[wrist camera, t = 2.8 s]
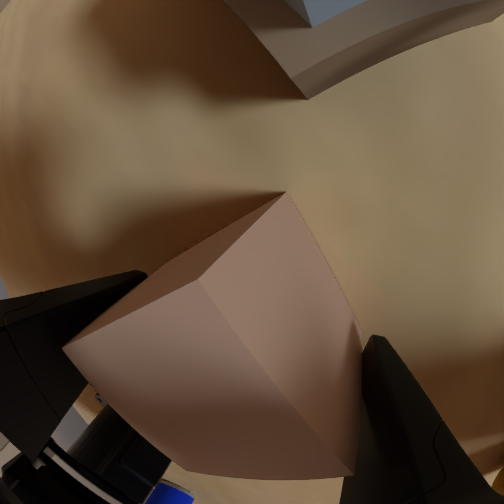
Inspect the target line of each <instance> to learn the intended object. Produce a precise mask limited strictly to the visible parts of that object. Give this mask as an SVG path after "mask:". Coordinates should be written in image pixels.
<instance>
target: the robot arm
mask: <svg viewBox="0 0 504 504" xmlns="http://www.w3.org/2000/svg"><path fill="white" fill-rule="evenodd" d="M147 277H148V276H147V274H146V273H144V272H141V271H138V270H133V271H129V272H125V273H120V274H116V275H111V276H107V277H103V278H98V279H94V280H90V281H85V282H81V283H77V284H73V285H68V286H64V287H60V288H55V289H51V290H47V291H45V292H38V293H34V294H29V295H25V296H20V297H15V298H9V299H4V300H0V451H1V450H2V449H3V448H4V447H5V446H6V445H7V444H8V443H9V442H11V443H12V444H13V445H14V446H16V448H18V449H19V450H20V451H21V453H19V454H18V455H17V456H15V457H14V458H13V459H11V460H10V461H9V462H7V463H6V464H5V465H3V466H2V468H1V470H2V478H0V504H110V503H109V502H107V501H106V500H104V499H103V498H101V497H100V496H98V495H97V494H95V493H94V492H92V491H91V490H90V489H88V488H87V487H86V486H84V485H83V484H82V483H80V482H79V481H78V480H76V479H75V478H74V477H73V476H71V475H70V474H69V473H67V472H66V471H65V470H64V469H63V468H62V467H60V466H59V465H58V464H57V463H56V462H55V461H54V460H52V459H51V458H52V457H53V456H54V454H55V455H56V456H57V457H59V458H60V459H61V460H62V461H63V462H64V463H66V464H67V465H68V466H69V467H70V468H71V469H73V470H74V471H75V472H77V473H78V474H79V475H80V476H82V477H83V478H84V479H86V480H87V481H88V482H90V483H91V484H92V485H94V486H95V487H96V488H98V489H99V490H101V491H102V492H104V493H105V494H107V495H108V496H110V497H112V498H113V499H114V500H116V501H118V502H119V503H121V504H139V503H140V504H143V503H144V502H145V500H146V498H147V497H148V495H149V494H150V492H151V491H152V489H153V487H156V486H157V484H158V483H159V481H160V479H161V478H162V476H163V474H164V473H165V471H166V470H167V468H168V466H169V465H170V463H171V461H172V460H171V459H170V458H168V457H167V456H166V455H164V454H163V453H162V452H161V451H159V450H158V449H157V448H156V447H155V446H153V445H152V444H151V443H150V442H149V441H147V440H146V439H145V438H144V437H143V436H142V435H141V434H139V433H138V432H137V431H136V430H135V429H134V428H133V427H132V426H131V425H130V424H128V423H127V422H126V421H125V420H124V419H123V418H122V417H121V416H120V415H119V414H118V413H117V412H116V411H115V410H114V409H113V408H112V407H111V406H110V405H109V404H108V403H107V402H106V401H105V400H104V398H103V397H102V396H101V395H100V394H99V393H97V394H96V395H95V398H96V399H97V400H98V401H99V402H100V403H101V404H102V405H103V406H104V408H103V409H102V410H101V412H100V413H99V414H98V415H97V416H96V418H95V419H94V420H93V421H92V422H91V423H90V425H89V426H88V427H87V428H86V429H85V431H84V432H83V433H82V434H81V435H80V437H79V438H78V439H77V440H76V441H75V442H74V444H73V445H72V446H71V447H70V448H69V449H68V451H67V452H65V451H64V450H63V449H62V448H61V447H59V446H58V445H57V444H56V442H55V440H54V439H53V438H52V437H51V435H52V433H53V432H54V430H55V429H56V427H57V426H58V425H59V423H60V422H61V420H62V418H63V417H64V416H65V414H66V413H67V412H68V410H69V409H70V407H71V406H72V405H73V403H74V402H75V401H76V399H77V398H78V396H79V395H80V394H81V392H82V391H83V390H84V388H85V387H86V386H87V384H88V383H89V382H88V381H87V379H86V378H85V377H84V376H83V375H82V374H81V372H80V371H79V370H78V369H77V367H76V366H75V365H74V364H73V362H72V361H71V360H70V359H69V357H68V356H67V355H66V353H65V352H64V351H63V349H62V347H63V346H65V345H66V344H67V343H68V342H69V341H70V340H72V339H73V338H74V337H75V336H76V335H77V334H79V333H80V332H81V331H82V330H83V329H84V328H86V327H87V326H88V325H89V324H90V323H92V322H93V321H94V320H95V319H96V318H98V317H99V316H100V315H101V314H102V313H104V312H105V311H106V310H107V309H108V308H110V307H111V306H112V305H113V304H115V303H116V302H117V301H118V300H120V299H121V298H122V297H123V296H125V295H126V294H127V293H128V292H130V291H131V290H132V289H133V288H135V287H136V286H137V285H138V284H140V283H141V282H142V281H143V280H145V279H146V278H147ZM339 504H504V496H503V495H500V494H499V493H497V492H496V491H495V490H493V489H492V488H491V486H490V485H489V484H488V483H487V481H486V480H485V479H484V477H483V476H482V474H481V473H480V472H479V470H478V469H477V468H476V466H475V465H474V464H473V462H472V461H471V460H470V458H469V457H468V456H467V454H466V453H465V452H464V450H463V449H462V447H461V446H460V445H459V443H458V442H457V440H456V439H455V437H454V436H453V434H452V433H451V431H450V430H449V428H448V427H447V425H446V423H445V422H444V421H443V420H442V417H441V416H440V414H439V413H438V411H437V410H436V408H435V407H434V405H433V404H432V402H431V401H430V399H429V398H428V396H427V395H426V393H425V392H424V391H423V389H422V388H421V386H420V385H419V383H418V382H417V380H416V379H415V378H414V376H413V375H412V373H411V372H410V371H409V369H408V368H407V366H406V365H405V364H404V362H403V361H402V359H401V358H400V357H399V355H398V354H397V352H396V351H395V350H394V348H393V347H392V346H391V344H390V343H389V342H388V340H387V339H386V338H385V337H383V336H378V335H372V336H371V337H370V338H369V340H368V342H367V344H366V346H365V349H364V351H363V353H362V397H361V415H360V429H359V440H358V450H357V458H356V466H355V474H354V475H353V476H345V477H344V480H343V486H342V492H341V497H340V503H339Z"/></svg>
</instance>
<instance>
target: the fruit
mask: <svg viewBox="0 0 504 504" xmlns="http://www.w3.org/2000/svg"><path fill="white" fill-rule="evenodd" d="M491 488H492V489H493V490H495V491H496V492H497V493H499V494H500V495H503V496H504V467H503V468H502V469H501V470H500V472H499V473H498V475H497V476H496V478H495V480H494V482H493V484H492V487H491Z"/></svg>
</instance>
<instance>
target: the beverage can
mask: <svg viewBox="0 0 504 504" xmlns="http://www.w3.org/2000/svg"><path fill="white" fill-rule="evenodd" d="M193 501H194V497H193V494H192V493H191V492H189V491H188V490H186V489H184V488H182V487H180V486H178V485H176V484H174V483H171V482H169V481H165V480H163V481H160V482H159V483H158V484H157V486H156V487H155V489H154V490H153V492H152V493H151V495H150V496H149V498H148V500H147V501H146V503H145V504H192V502H193Z"/></svg>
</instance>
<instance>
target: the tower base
mask: <svg viewBox="0 0 504 504" xmlns="http://www.w3.org/2000/svg"><path fill="white" fill-rule="evenodd" d="M223 1H224V2H225V3H226V4H227V5H228V6H229V7H230V8H231V9H232V10H233V11H234V12H235V13H236V14H237V16H238V17H239V18H240V19H241V20H242V21H243V22H244V23H245V24H246V25H247V26H248V27H249V29H250V30H251V31H252V32H253V33H254V34H255V35H256V36H257V38H258V39H259V40H260V41H261V42H262V43H263V45H264V46H265V47H266V48H267V49H268V51H269V52H270V53H271V54H272V56H273V57H274V58H275V59H276V60H277V62H278V63H279V64H280V66H281V67H282V68H283V69H284V71H285V72H286V73H287V75H288V76H289V77H290V79H291V80H292V81H293V82H294V83H295V84H296V86H297V87H298V88H299V89H300V90H301V92H302V93H303V94H304V95H305V97H306V98H307V99H308V100H309V99H310V98H312V97H314V96H316V95H317V94H319V93H321V92H323V91H324V90H326V89H328V88H330V87H332V86H334V85H335V84H337V83H339V82H341V81H343V80H345V79H347V78H349V77H351V76H353V75H355V74H357V73H359V72H361V71H363V70H365V69H367V68H369V67H371V66H373V65H375V64H377V63H379V62H381V61H384V60H386V59H388V58H390V57H392V56H395V55H397V54H399V53H401V52H404V51H406V50H409V49H411V48H413V47H416V46H418V45H421V44H423V43H426V42H429V41H431V40H434V39H437V38H440V37H442V36H445V35H448V34H451V33H454V32H457V31H460V30H463V29H467V28H470V27H473V26H477V25H480V24H484V23H488V22H492V21H493V20H494V19H496V18H497V17H499V16H500V15H501V14H503V13H504V0H367V1H365V2H362V3H360V4H358V5H356V6H354V7H352V8H349V9H347V10H345V11H343V12H341V13H339V14H337V15H335V16H333V17H331V18H329V19H328V20H326V21H324V22H322V23H320V24H318V25H317V26H315V27H313V28H312V27H311V26H310V25H309V24H308V23H307V22H306V21H305V20H304V19H303V18H302V17H301V16H300V15H299V14H298V13H297V12H296V11H295V10H294V9H293V8H292V7H291V6H289V5H288V4H287V3H286V2H285V1H284V0H223Z"/></svg>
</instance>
